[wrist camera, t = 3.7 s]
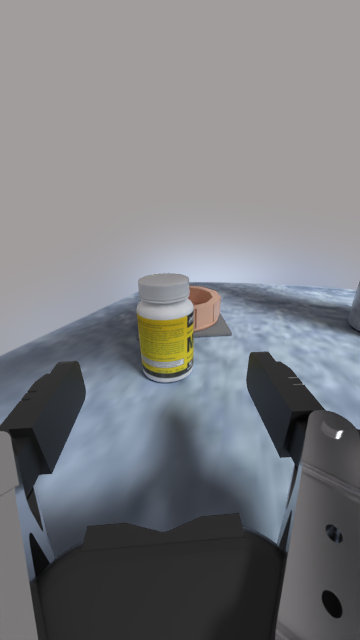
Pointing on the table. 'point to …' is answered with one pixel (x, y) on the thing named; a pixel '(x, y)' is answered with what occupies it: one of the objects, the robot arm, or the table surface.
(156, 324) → the supplement bottle
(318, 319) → the table surface
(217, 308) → the bowl
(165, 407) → the table surface
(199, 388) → the table surface
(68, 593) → the robot arm
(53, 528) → the table surface
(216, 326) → the mat
